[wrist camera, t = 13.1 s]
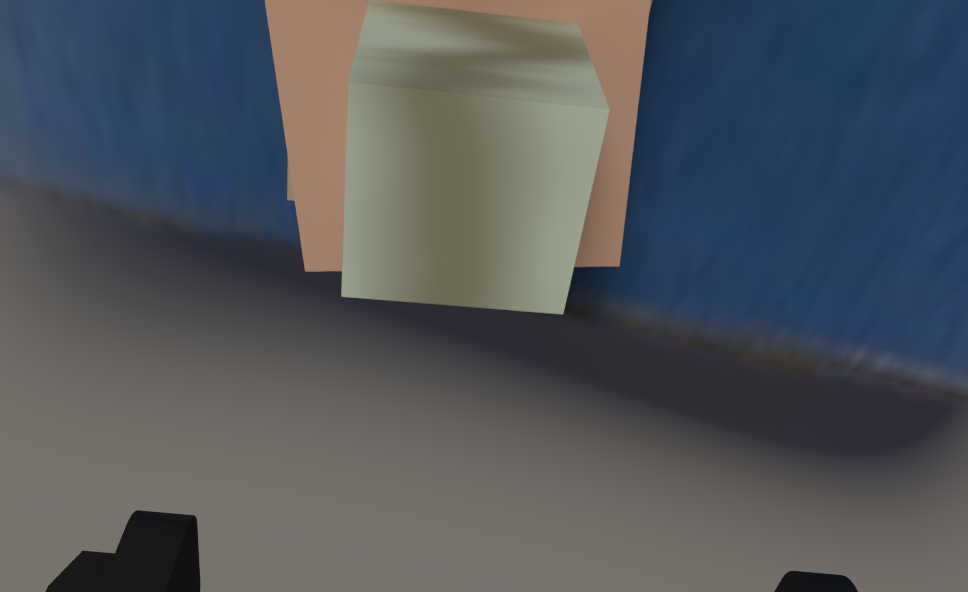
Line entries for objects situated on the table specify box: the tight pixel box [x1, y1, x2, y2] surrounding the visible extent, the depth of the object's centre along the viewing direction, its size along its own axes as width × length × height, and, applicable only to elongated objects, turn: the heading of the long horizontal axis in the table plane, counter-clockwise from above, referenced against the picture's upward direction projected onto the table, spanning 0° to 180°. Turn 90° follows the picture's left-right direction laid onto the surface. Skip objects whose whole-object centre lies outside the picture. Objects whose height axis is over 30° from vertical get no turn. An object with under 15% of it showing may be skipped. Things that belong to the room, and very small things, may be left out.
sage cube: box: [342, 0, 610, 314], centre depth 21 cm, size 6×6×6 cm
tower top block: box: [265, 0, 651, 271], centre depth 25 cm, size 10×10×4 cm
